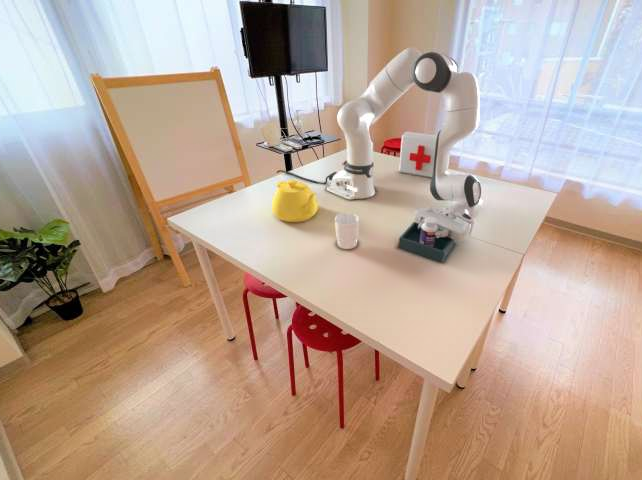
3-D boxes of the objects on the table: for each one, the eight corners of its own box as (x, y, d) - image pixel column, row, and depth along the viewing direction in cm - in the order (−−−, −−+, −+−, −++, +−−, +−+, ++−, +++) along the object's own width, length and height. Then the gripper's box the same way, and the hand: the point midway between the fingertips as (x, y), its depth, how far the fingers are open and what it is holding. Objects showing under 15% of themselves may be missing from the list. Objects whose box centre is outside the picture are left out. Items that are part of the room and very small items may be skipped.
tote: (398, 247, 105) (399, 237, 102) (412, 231, 114) (413, 221, 111) (442, 262, 99) (444, 252, 96) (453, 243, 108) (455, 234, 105)
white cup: (355, 251, 102) (355, 226, 96) (332, 248, 103) (331, 223, 98) (360, 239, 109) (361, 214, 103) (339, 236, 110) (338, 211, 104)
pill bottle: (425, 250, 103) (429, 225, 97) (416, 242, 107) (419, 217, 101) (438, 246, 105) (442, 221, 99) (428, 238, 109) (432, 214, 103)
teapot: (335, 218, 120) (333, 185, 112) (297, 234, 110) (293, 200, 102) (298, 197, 134) (294, 167, 126) (261, 210, 124) (255, 178, 116)
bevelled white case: (397, 173, 159) (400, 134, 148) (401, 168, 166) (405, 130, 154) (437, 180, 153) (443, 140, 142) (440, 175, 159) (447, 135, 148)
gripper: (429, 200, 114) (405, 211, 106) (478, 221, 102) (454, 236, 94) (427, 214, 118) (403, 227, 110) (474, 237, 106) (451, 252, 98)
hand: (427, 231), depth 102 cm, fingers closed on pill bottle, 5 cm apart
